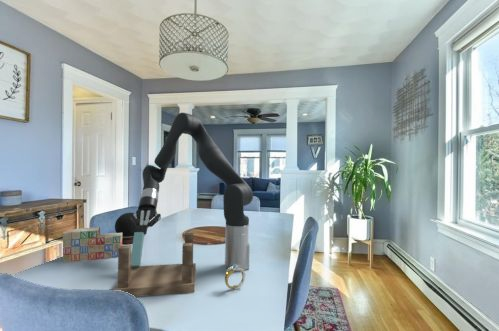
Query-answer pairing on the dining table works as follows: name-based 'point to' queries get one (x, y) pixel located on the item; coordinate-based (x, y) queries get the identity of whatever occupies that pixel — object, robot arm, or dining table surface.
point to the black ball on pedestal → (126, 228)
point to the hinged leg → (137, 249)
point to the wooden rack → (157, 274)
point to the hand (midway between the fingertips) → (142, 234)
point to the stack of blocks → (90, 244)
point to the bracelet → (228, 273)
